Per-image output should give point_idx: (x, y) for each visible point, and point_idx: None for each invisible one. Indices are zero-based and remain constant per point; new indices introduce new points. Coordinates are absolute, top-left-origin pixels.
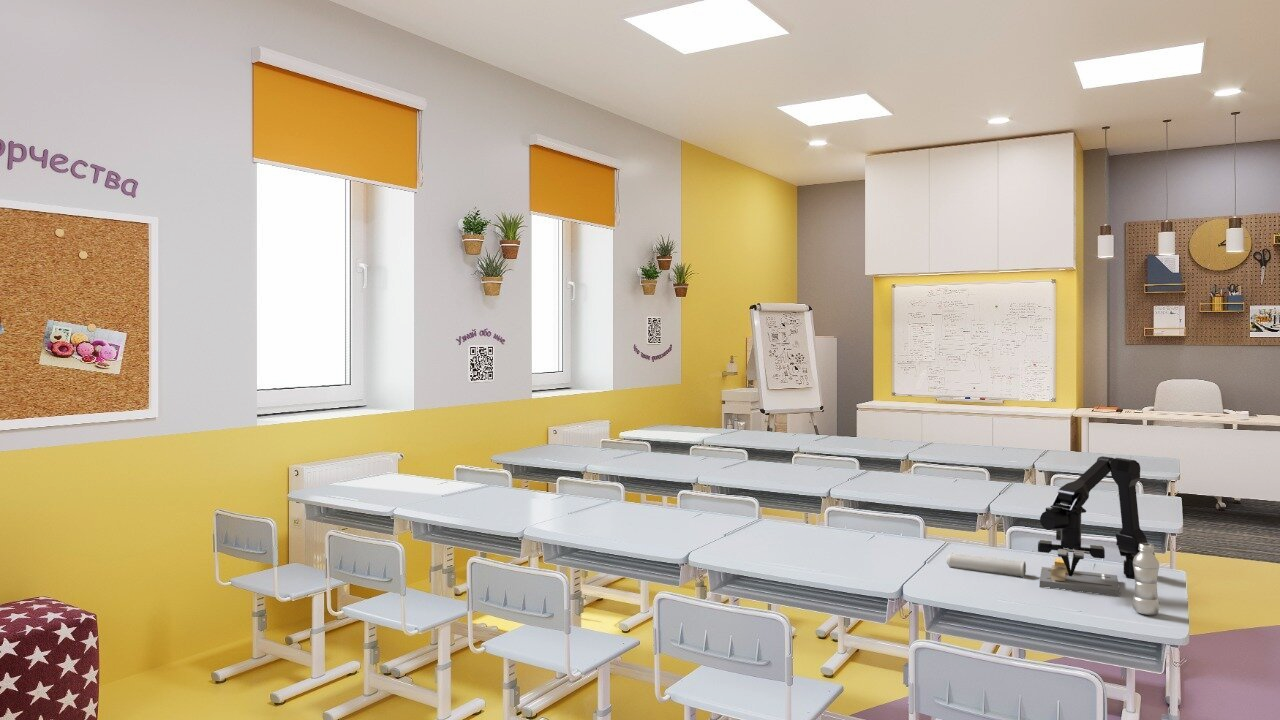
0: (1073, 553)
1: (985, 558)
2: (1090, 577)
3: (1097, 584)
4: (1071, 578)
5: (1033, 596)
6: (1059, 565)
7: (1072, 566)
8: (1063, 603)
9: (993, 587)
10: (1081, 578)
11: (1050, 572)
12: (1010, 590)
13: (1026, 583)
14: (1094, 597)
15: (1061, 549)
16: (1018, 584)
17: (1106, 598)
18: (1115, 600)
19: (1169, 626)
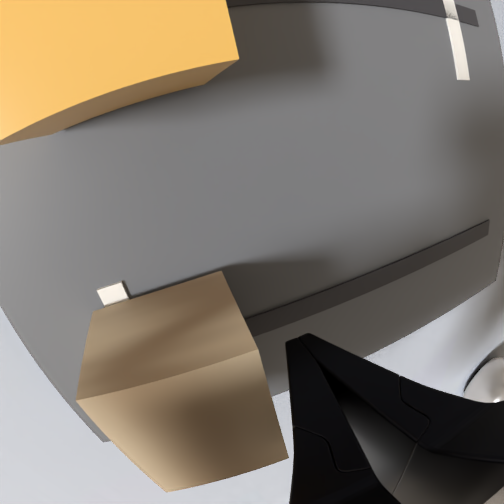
0: (486, 501)
1: None
2: (399, 71)
3: (439, 259)
4: (269, 224)
5: (171, 498)
6: (79, 111)
7: (368, 455)
8: (283, 483)
9: (15, 484)
10: (348, 157)
11: None
12: (70, 490)
13: (17, 389)
14: (388, 362)
15: None
16: (15, 423)
17: (428, 335)
18: (450, 331)
19: None
